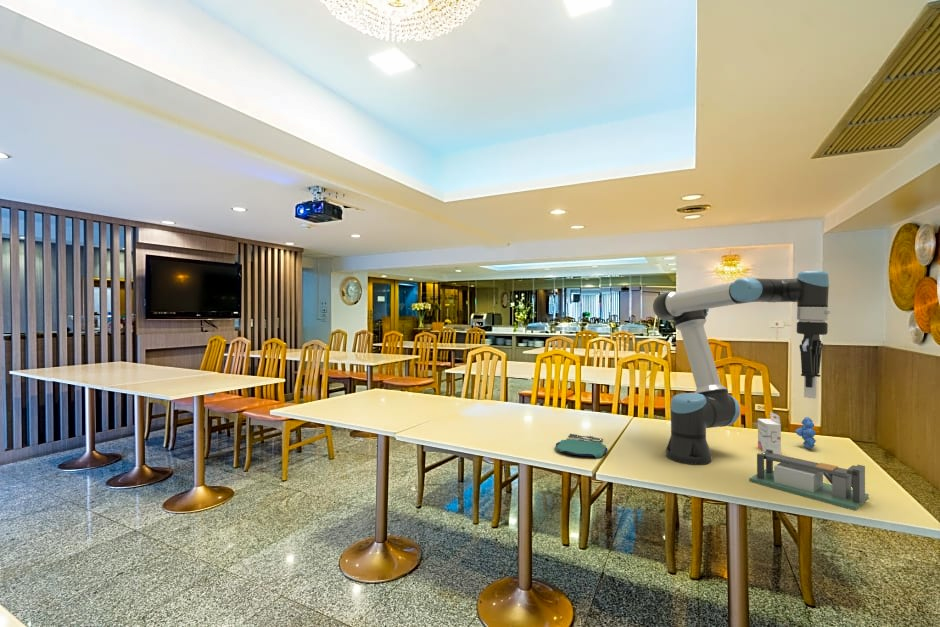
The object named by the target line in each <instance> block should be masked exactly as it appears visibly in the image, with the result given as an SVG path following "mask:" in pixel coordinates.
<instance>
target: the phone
mask: <svg viewBox="0 0 940 627" xmlns="http://www.w3.org/2000/svg"><path fill="white" fill-rule="evenodd" d="M832 475H833V474H829V473H824V472H823V477H825V478H826V479H827V480H828V482H829V483H830V485H832ZM851 487H852V488H851V489H853V475H851Z"/></svg>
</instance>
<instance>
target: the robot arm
mask: <svg viewBox="0 0 940 627" xmlns="http://www.w3.org/2000/svg"><path fill="white" fill-rule="evenodd" d="M829 282H830V280H829V273H828V272H827V271H826V270H825V271H823V270H805V271H800V272H798V274H797V277H796V278H754V277H742V278H741V277H740V278H738V279H736V280H734V281H732V282H727V283H721V284H718V285H712V286H708V287H703V288H697V289H693V290H688V291H687V290H686V291H684V292H678V291H670V292H669V291H668V292H663V293H660V294H658V295H656V297H655V299H654V300H653V303H652V311H653V313H654V314H655V316H656V317H657V318H659V319H661V320H662V321H665V322H666V321H667V322H673V324H674V327H675V329H676V330H678V331H680V333H681V338H682V341H683V345H684V348H685V351H686V352H685V353H686V355H687V358H688V359H687V360H688V363H689V366H690V370H691V373H692V376H693V379H694V380H693V381H694V384H695V388H696V390H695V391H694V392H681V393H677V394H675V395H673V396H672V398H671V402H670V406H669V407H670V408H669V409H670V437H669V441H668V443H667V446H666V448H665V456H666V457H667V458H668V459H670V460H672V461H675V462H678V463H683V464H688V465H708V464H710V463H712V453H711V450H710V448H709V447H710V446H709V444H708V441H707V429H711V428H722V427H723V428H724V427H727V426H730V425H732V424H734V423H736V422H737V421H738V418H739V417H740V414H741V409H740V403H739V402H738V400H737V399H736V398H734V396H732V395H731V394H729V391H728V388H727V387H725V386H723V385H722V383H721V381H720V380H721V379H720V376H719V373H718V370H717V366H716V363H715V360H714V357H713V353H712V349H711V346H710V344H709V340H708V337H707V334H706V330H705V326H704V325H705V324H706V322H707V319H706V317H707V316H708V312H709V310H710V309H714V308H721V307H727V306H733V305H734V306H735V305H741V304H746V303H747V304H748V303H759V302H760V303H797V305H796V320H798V321H797V322H796V333H797V334H800V335H803V337H802V338H803V339H801V343H800V344H799V346H798V347H799V352H800V364H801V366H800V368H801V373H800V376H801V377H803V378H804V379H803V381H804V385H803V386H804V387H803V397H804V398H807V399H814V400H815V399H817V389H818V388H817V387H818V386H817V384H818V380H817V379H818V378H821V374H820V370H821V368H820V367H821V360H822V351H823V346H824V344H823V342H822V339H821V338H820V336H824V335H827V334H828V331H829V330H828V327H829V326H828V323H827V322H826V321H828V320H829V319H828V318H829V316H828V315H830V314H831V311H830V310H829V290H830V288H829V287H830V283H829Z"/></svg>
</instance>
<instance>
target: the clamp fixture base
mask: <svg viewBox="0 0 940 627" xmlns="http://www.w3.org/2000/svg"><path fill="white" fill-rule="evenodd" d="M766 451H769V452H770V453H773V450H769V449H766ZM846 469H847V468H846ZM847 474H850V475H849V476H847V477H842V476H837V475H832V484H831V483H830V484H829V483H825V482H824V474H823V472H820V471H816V470H811V469H807V468H802V467H798V466H794V465H789V464H785V463H780V462H778V463H777V464H775V465H774V461H772V460H767V459H764V455H763V454H761V453H756V474H755V475H753V476H751V477H749V478H748V480H749V482H750V483H755V484H758V485H760V486H765V487H768V488H772V489H776V490H779V491H783V492H787V493H789V494H794V495H796V496H797V495H798V496H801V497H804V496H805V498H808V499H812V498H813V500H815V499H816V501H819V500H820V501H819V502H823V501H824V502H823V503H826V502H828V504H830V503H831V505H833V506H834V505H835V506H837V507H840V508H841V507H842V508H845V509H848V508H849V510H852V509H853V511H855V510H856V511H857V510H858V509H859V508H860V507H861V506H862V505H863V504H864V503H863V502H864V501H865V500H866V499H867V498H868V497H869V496H870V495H869V493H866V466H865V465H863V464H857V465H851V466H850V467H848V469H847ZM851 475H853V488H851ZM868 499H869V498H868ZM868 499H867V500H868ZM867 500H866V501H867ZM866 501H865V502H866ZM862 503H863V504H862ZM861 504H862V505H861ZM860 505H861V506H860ZM859 506H860V507H859ZM858 507H859V508H858Z"/></svg>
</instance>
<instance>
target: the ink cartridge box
mask: <svg viewBox="0 0 940 627" xmlns="http://www.w3.org/2000/svg"><path fill="white" fill-rule="evenodd" d="M769 415H770V418H757V448H758V449H760V450H761V451H762V452H765V451H766V449H769V450H773V453H774V454H779V455H782V451H781V450H782V438H781V436H782V434H781V433H782V430H781V427H782V425H781V417H780V416H779V415H778V414H777V413H774V412H772V411H769Z"/></svg>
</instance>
